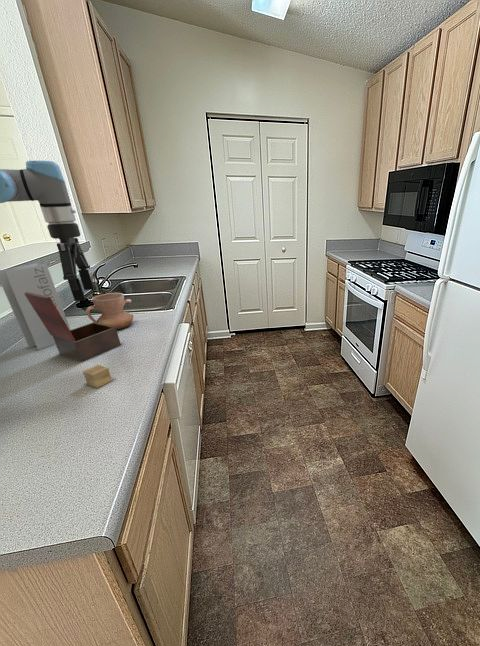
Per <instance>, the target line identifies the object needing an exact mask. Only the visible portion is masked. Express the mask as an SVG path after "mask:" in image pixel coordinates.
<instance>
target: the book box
mask: <svg viewBox="0 0 480 646" xmlns="http://www.w3.org/2000/svg"><path fill="white" fill-rule="evenodd" d="M70 332H71V333H72V335H73V337H74V338H75V341H74V342H72V341H69V340H65V339H62V338H58V337H55V336H53V338H54V341H55V346H56V348H57V350H58V353H59V355H61V356H64V357H67V358H69V359H73V360H76V361H79V362H84V361H87V360H89V359H91V358H93V357H96V356H99V355H101V354H103V353H106V352H108V351H110V350H112V349H115V348H117V347H119V346H122V344H121V340H120V337H119V334H118V330H116V327H112V326H107V325H103V324H99V323H95V322H93V321H92V322H90V323H88V324H84V325H81V326H78V327H75V328H73V329H70Z"/></svg>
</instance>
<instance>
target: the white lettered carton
mask: <svg viewBox="0 0 480 646" xmlns="http://www.w3.org/2000/svg"><path fill="white" fill-rule="evenodd" d="M0 285H1V287H2V289H3V292H4V294H5V296H6V298H7V301H8V303H9V306H10V308H11V310H12V313H13V314H14V317H15V319H16V322H17V324H18V326H19V328H20V331H21V333H22V335H23V338H24V340H25V342H26V344H27V347H28V349H31V348H34V347H36V350H38V351H39V350H42V349H45V348H47V347H50V346H52V345H56V343H55V341H54V338H53V336H52V335H50V333H49V332H48V330H47V329H46V327H45V326H44V324H43V322H42V321H41V319H40V318H39V316H38V315H37V313H36V311H35V310H34V308H33V307H32V305H31V304H30V302H29V301H28V299H27V297H26V296H25V294H24V293H26V292H28V293H33V294H38V295H43V296H48V297H50V298H51V300H52V302H53V303H54V305H55V307H56V308H57V310H58V312H59V313H60V315H61V317H62V318H63V320H64V322H65V323H66V325H67V327H68V328H69V330H71V327H70V325H69V322H68V319H67V317H66V314H65V311H64V308H63V306H62V303H61V300H60V297H59V295H58V292H57V289H56V286H55V284H54V280H53V277H52V274H51V272H50V270H49V267H48V264H47V263H45V264H38V263H37V262H36V263H31V264H25V265H20V266H15V267H10V268H5V269H0Z"/></svg>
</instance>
